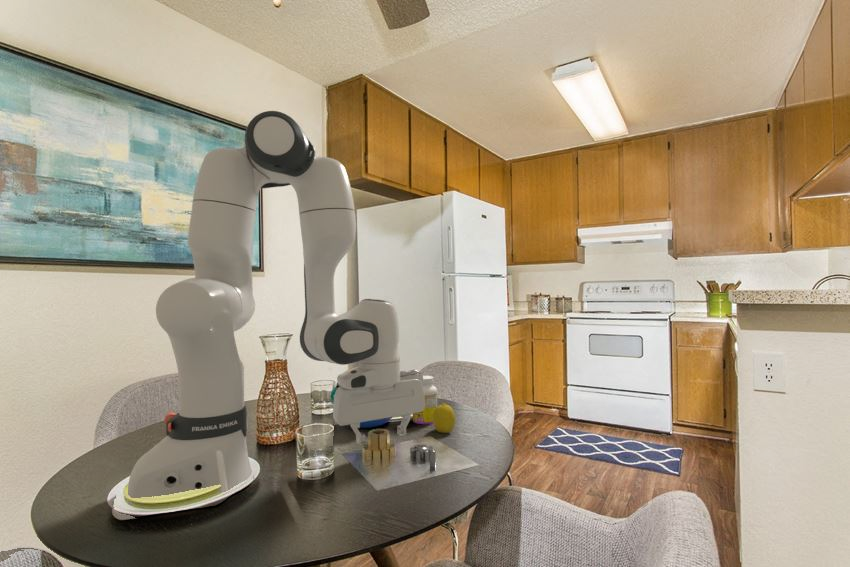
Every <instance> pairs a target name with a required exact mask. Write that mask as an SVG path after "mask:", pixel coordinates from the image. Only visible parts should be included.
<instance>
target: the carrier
mask: <svg viewBox="0 0 850 567" xmlns="http://www.w3.org/2000/svg"><path fill="white" fill-rule="evenodd" d="M394 443H395V447H396V452H395V455H394V456H392V457H391V458H388V459H383V460H382V459H381V460H373V459H372V460H371V459H367V458H365V457H363V456H362V449H360V450H354V451H349V452H345V453H341V455H342V456H343V457H344V458H345V459H346V460H347V461H348V462H349V464H351V465H352V466H353V467H354V468H355V470H356V471H358V473H359V474H360V475H361V476H362V477H363V478H364V479H365V480H366V481H367V482H368V483H369V484H370V485H371V486H372V487H373V489H374V490H375V491H376V492H377V491H382V490H385V489H389V488H394V487H397V486H401V485H407V484H409V483H414V482H418V481H421V480H425V479H426V480H427V479H429V478H435V477H437V476H442V475H447V474H449V473H453V472H458V471H462V470H466V469H470V468H474V467H478V466H480V464H479V463H477V462H475V461H473V460H472V459H470V458H469V457H467V456H465V455H463V454H462V453H460V452H458V451H457V450H455V449H454V448H452V447H450V446H448V445H446V444H445V443H443V442H441V441H440V440H438V439H437V438H435V437H432V436H425V437H420V438H415V439H410V440H405V441H400V442H394Z"/></svg>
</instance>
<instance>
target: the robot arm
mask: <svg viewBox="0 0 850 567" xmlns="http://www.w3.org/2000/svg"><path fill="white" fill-rule="evenodd" d="M288 186H291V187H292V188H293V189H294V191H295V193H296V199H297V204H298V215H299V224H300V232H301V234H300V235H301V242H302V250H303V252H302V254H303V278H304V279H303V281H304V282H303V283H304V284H303V286H304V306H305V307H304V308H305V309H304V310H305V311H304V312H305V313H304V319H303V323H302V325H301V328H300V333H299V345H300V348H301V350H302V351H303V353H304V354H305V355H306V356H307V357H308V358H310V359H311V360H313V361H318V362H327V363H330V364H334V365H335V364H336V365H339V366H340V365H341V366H345V365H350V364H354V363H357V362H358V365H357V366H355V367H353V368H350V369H351V370H350V369H348V370H349V371H347V370H346V371H347V372H345V371H344V372H342V373H340V374H338V375H337V377H336V378H337V379H336V380H337V381H336V382H338V384H339V385H340V387H338V388H337V390H336V392H335V395H334V403H332V404H333V405H332V418H333V421H334V422H335V423H336V424H338V425H339V426H350V428H351V429H352V432H354V434H355V441H356V443H357V445H361V444H364V443H366V434H365V433H364V432H360V431H359V429H360V422H366V421H371V420H377V419H383V418H388V417H392V418H393V417H398V416H399V417H401V418H402V420H401V422H400V424H399V425H396V430H397V431H396V433H397V435H399V436H405V435H407V426H408V425H409V423H410V420H411V416H412V415H411V414H413V413H417V412H422V411H423V410H424V408H425V397H424V391H423V376H424V375H423V373H422V372H421V371H418V370H417V369H410V370H401V361H400V354H399V350H398V347H399V342H400V331H399V330H400V329H399V328H400V327H399V320H398V314H397V310H396V307H395V305H394V304H393V303H392V302H390V301H387V300H383V299H374V298H364V299H361V300H360V301H359V303H357V304H356V305H355V306H354V307H353V308H351V309H349V310H348V311H346V312H344V313H342V314H341V313H340V314H339V315H337V312H336V310H335V309H336V308H335V307H336V305H335V283H334V281H335V272H336V270H337V267H338V265H339V263H341V261H342V259H343V258H344V257H345V256H346V255H347V253H349V252H350V250H351V249H352V247H353V245H355V244H354V243H355V241H356V232H357V220H356V212H355V202H354V197H353V192H352V187H351V183H350V179H349V176H348V172H347V170H346V168H345V166H344V164H343V163H341V161H339V160H337V159H335V158H332V157H329V156H327V157H326V156H317V155H316V148H315V146H314V144H312V142H311V141H310V139H309V138H308V137H307V135H306V133H305V131H304V130H303V129H302V128H301V126H300V125H299V123H298V122H296V120H294V119H293V118H292V117H291V116H289V115H288V114H286V113H285V112H281V111H277V110H267V111H263V112H260V113H258V114H256V115H255V116H254V117H253V118H252V119H251V120H250V122H248V124H247V126H246V128H245V132H244V146H243V147H241V148H236V149H234V148H230V147H220V148H213V149H212V150H210V151H208V152H207V153H206V154H205V156H204V158H203V161H202V163H201V165H200V168H199V172H198V174H197V178H196V183H195V186H194V192H193V198H192V205H191V211H190V220H189V228H188V235H187V245H188V247H189V248H188V249H189V250H190V253H191V255H192V259H193V269H194V277H192V278H188V279H184V280H181V281H179V282H176V283H174V284H171V285H170V286H168V287H167V288H165V290H163V291H162V292H161V294H160V296H159V297H158V299H157V302H156V306H155V316H156V319H157V322H158V324H159V326H160V327H161V329H162V330H163V331H165V332H166V334H167V335H168V338H169V340H170V345H171V346H172V347H171V348H172V349H173V350H172V351H173V353H174V358H175V361H176V366H177V374H178V408H179V410H178V413H175V412H168V413H167V414H166V415H165V417H164V421H163V422H164V423H165V426H166V427H165V434H166V436H165V437H164V438H163V439H161V440H160V441H159V442H157V443H156V444H155V445H154V446H153V447H152V448H150V449H149V450H147V451H146V452H145V453H144V454H143V455H141V457H139V459H138V460H137V461H136V463H135V464H134V466H133V467H132V469H131V472H130V476H129V479H128V484H127V485H128V495H129V496H130V497H131V498H141V497H152V496H153V497H154V496H161V495H169V494H174V493H179V492H185V491H189V490H195V489H201V488H206V487H210V486H214V485H219V484H220V485H221V488H219V489H218V490H217V491H218V492H226V491H228V490H230V489H231V488H233V487H234V486H236V485H238V484H239V483H241V482H243V481H245V480H247V479H248V478H249V477H250V476H251V474H252V472H253V470H252V466H251V462H250V460H249V459H250V458H249V453H248V447H247V437H246V436H247V435H248V434H247V433H248V425H249V423H248V422H249V421H248V411H247V406H246V405H245V366H244V364H243V362H242V360H241V358H240V355H239V351H238V347H237V343H236V338H235V332H237V331H238V330H240V329H242V328H243V327H244V326H245V325H247V323H248V322H249V321H250V320H251V319H252V317H253V316H254V314H255V310H256V301H255V298H254V294H253V290H254V289H253V270H252V269H253V267H252V266H253V265H252V247H253V240H254V239H253V238H254V229H255V223H256V222H255V221H256V212H257V204H258V198H259V193H260V191H261V189H269V188H279V187H288ZM349 424H350V425H349ZM128 504H129V505H132V506H133V505H134V504H133V503H132V502H130V501H128ZM111 514H112V516H113V517H114V518H115V519H117V520H119V521H125V520H130V519H131V520H133V519H136V518H135V517H133V516H130V515H126V514H121V513H119V512H117V511H115V510H114V509H112V508H111Z"/></svg>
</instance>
